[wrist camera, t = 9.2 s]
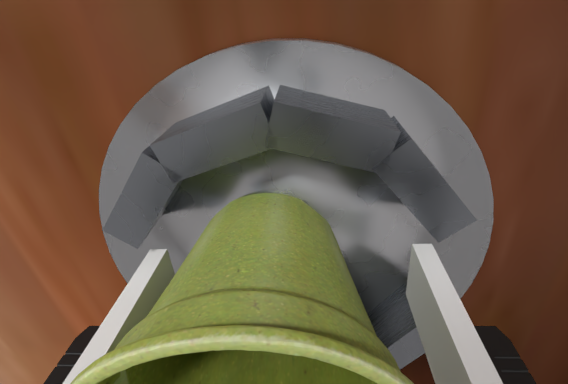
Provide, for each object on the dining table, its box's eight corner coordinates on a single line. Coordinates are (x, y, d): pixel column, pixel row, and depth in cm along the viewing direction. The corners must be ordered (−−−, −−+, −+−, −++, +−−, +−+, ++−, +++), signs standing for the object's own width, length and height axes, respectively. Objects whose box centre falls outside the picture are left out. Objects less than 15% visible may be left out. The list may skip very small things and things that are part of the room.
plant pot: (378, 146, 13) (488, 334, 6) (368, 313, 18) (422, 543, 10) (147, 160, 14) (-32, 347, 6) (195, 319, 18) (124, 539, 11)
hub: (262, -90, 11) (243, -127, 8) (563, 228, 16) (625, 283, 13) (53, 241, 18) (1, 289, 15) (303, 387, 23) (302, 446, 20)
